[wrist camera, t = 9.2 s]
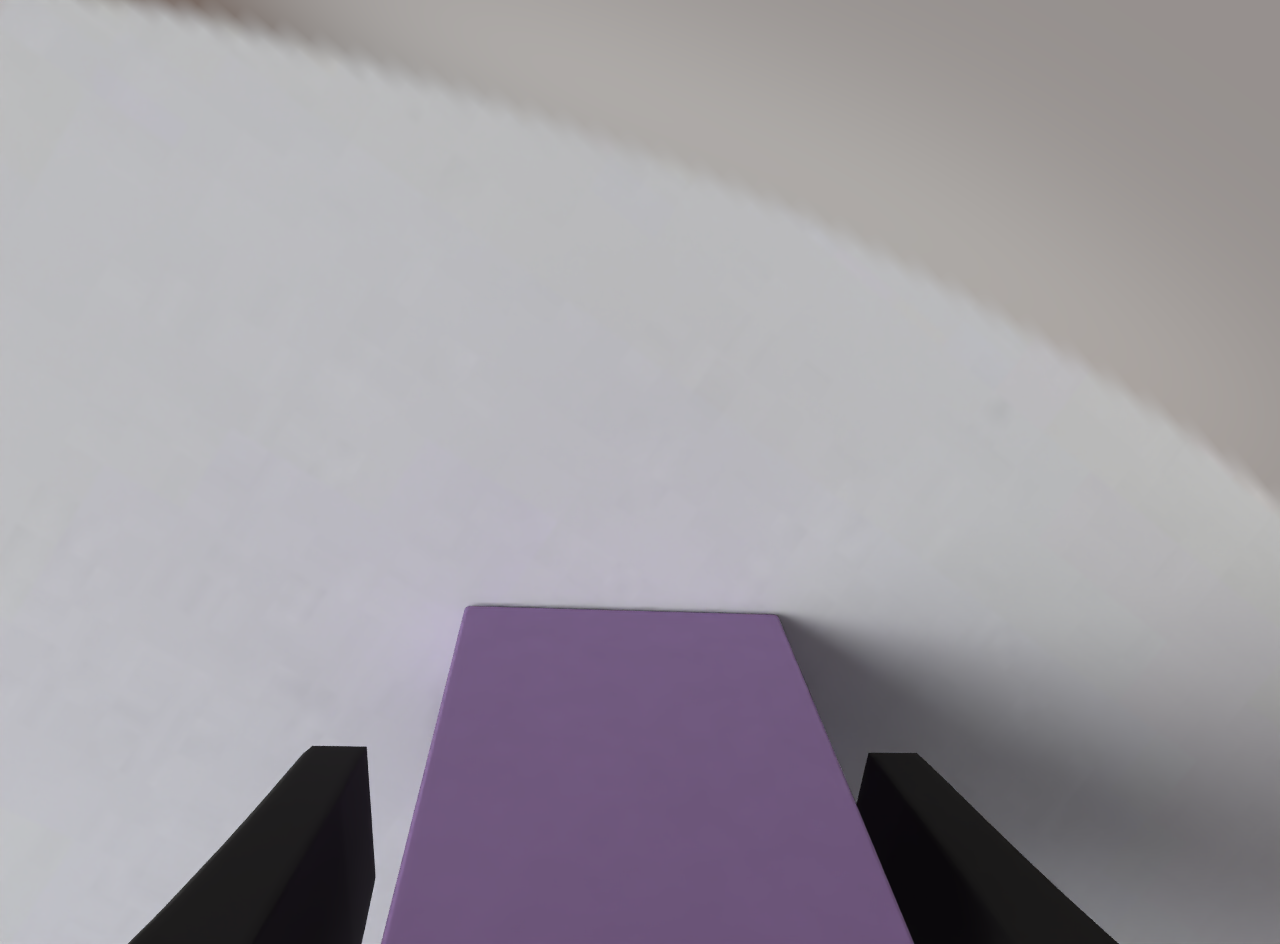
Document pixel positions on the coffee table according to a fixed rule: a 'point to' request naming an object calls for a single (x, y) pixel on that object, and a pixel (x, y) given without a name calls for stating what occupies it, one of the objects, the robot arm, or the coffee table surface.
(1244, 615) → the coffee table surface
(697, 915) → the box
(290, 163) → the coffee table surface
